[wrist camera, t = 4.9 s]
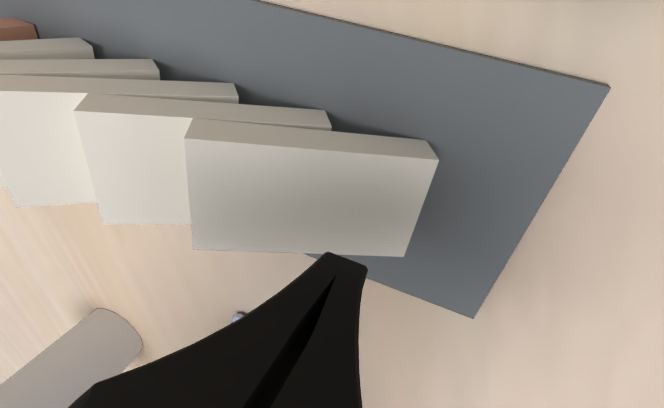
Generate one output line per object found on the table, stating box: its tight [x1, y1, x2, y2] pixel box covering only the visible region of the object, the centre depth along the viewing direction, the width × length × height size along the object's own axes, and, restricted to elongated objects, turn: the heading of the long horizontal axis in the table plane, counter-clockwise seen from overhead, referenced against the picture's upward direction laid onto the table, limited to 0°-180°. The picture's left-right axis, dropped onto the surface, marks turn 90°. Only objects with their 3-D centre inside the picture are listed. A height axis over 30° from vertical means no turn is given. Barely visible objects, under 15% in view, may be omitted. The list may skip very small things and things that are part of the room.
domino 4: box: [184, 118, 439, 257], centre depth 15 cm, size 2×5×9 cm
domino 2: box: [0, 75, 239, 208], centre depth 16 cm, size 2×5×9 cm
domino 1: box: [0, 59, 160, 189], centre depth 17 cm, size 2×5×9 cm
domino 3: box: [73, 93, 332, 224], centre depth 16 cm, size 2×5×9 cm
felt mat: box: [0, 0, 611, 319], centre depth 19 cm, size 12×31×1 cm, turn 81°
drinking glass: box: [0, 308, 143, 408], centre depth 32 cm, size 7×7×10 cm
